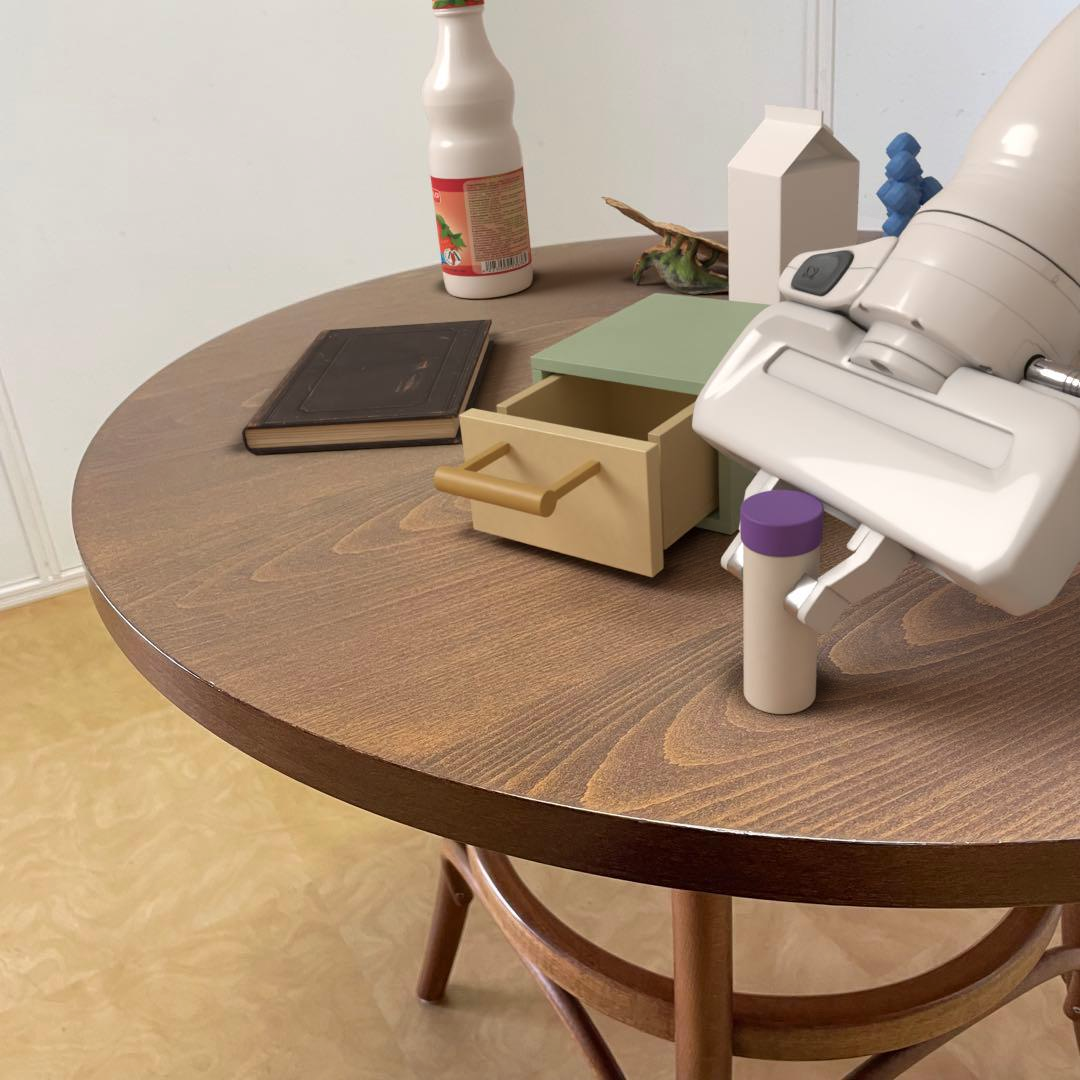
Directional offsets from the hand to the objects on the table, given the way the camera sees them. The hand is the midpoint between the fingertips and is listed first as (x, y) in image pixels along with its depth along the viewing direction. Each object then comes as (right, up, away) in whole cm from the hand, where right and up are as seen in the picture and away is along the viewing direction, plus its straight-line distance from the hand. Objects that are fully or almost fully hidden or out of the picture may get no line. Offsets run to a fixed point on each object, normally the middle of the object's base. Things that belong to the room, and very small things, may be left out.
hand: (768, 599), depth 49 cm
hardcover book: (-23, +14, +44) cm, 51 cm away
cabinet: (0, +7, +25) cm, 26 cm away
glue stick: (+1, -4, +3) cm, 5 cm away
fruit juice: (-15, +29, +70) cm, 78 cm away
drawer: (-6, +4, +17) cm, 19 cm away
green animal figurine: (+6, +28, +65) cm, 71 cm away
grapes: (+28, +32, +69) cm, 81 cm away
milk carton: (+11, +18, +44) cm, 48 cm away
